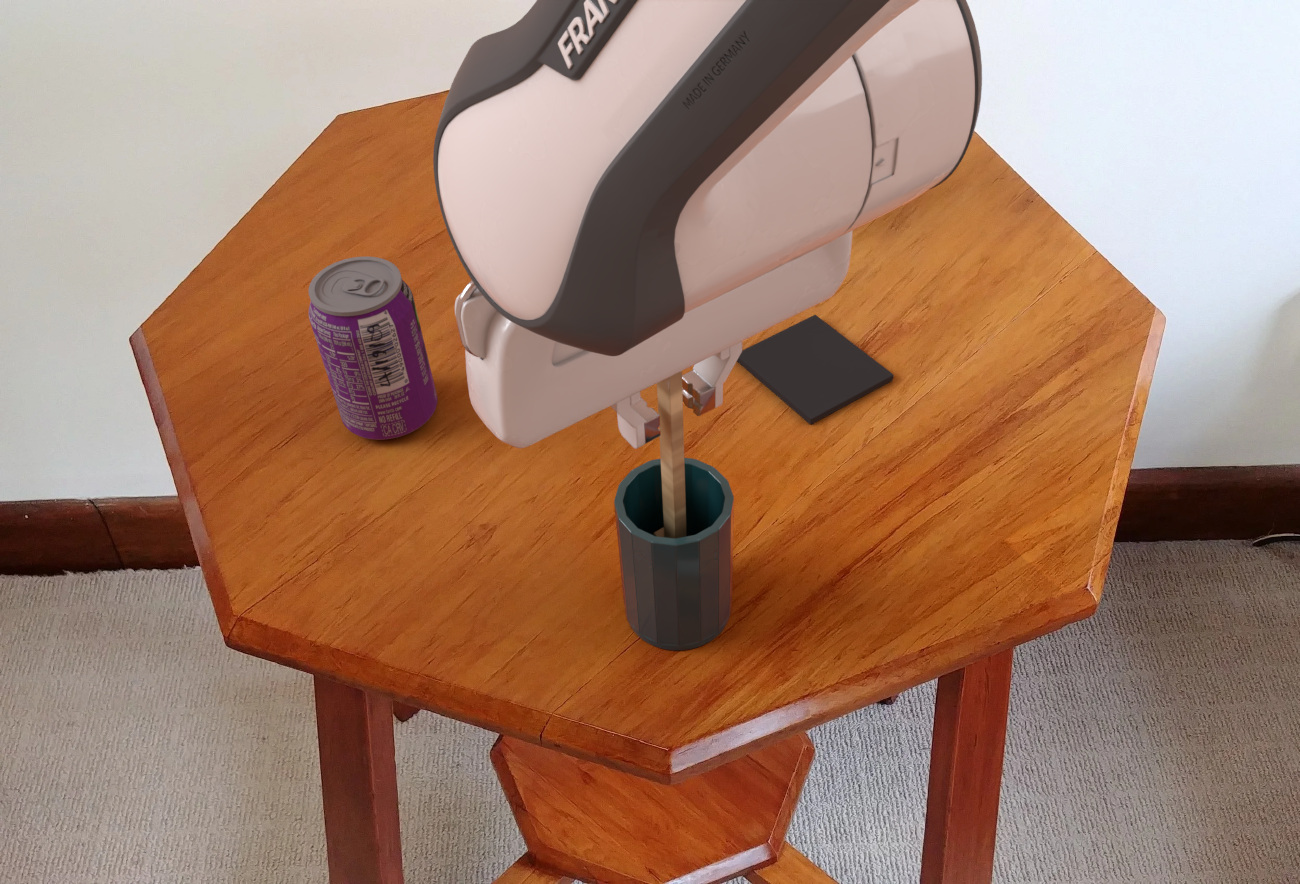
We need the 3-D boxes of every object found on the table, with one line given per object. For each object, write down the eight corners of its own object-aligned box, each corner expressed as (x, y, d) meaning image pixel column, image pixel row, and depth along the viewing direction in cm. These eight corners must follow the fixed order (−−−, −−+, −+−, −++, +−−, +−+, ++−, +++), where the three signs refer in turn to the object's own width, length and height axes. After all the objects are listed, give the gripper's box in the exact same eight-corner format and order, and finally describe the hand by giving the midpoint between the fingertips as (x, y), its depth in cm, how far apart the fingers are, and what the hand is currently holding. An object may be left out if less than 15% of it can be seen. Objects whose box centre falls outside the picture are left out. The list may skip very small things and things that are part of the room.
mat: (893, 380, 84) (894, 374, 83) (810, 425, 81) (811, 419, 80) (814, 320, 89) (815, 314, 89) (734, 359, 86) (734, 353, 86)
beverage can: (453, 388, 85) (424, 258, 77) (417, 453, 80) (382, 323, 72) (367, 375, 87) (329, 246, 78) (326, 439, 82) (282, 309, 73)
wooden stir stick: (700, 615, 69) (695, 369, 54) (687, 622, 68) (680, 376, 54) (668, 579, 71) (656, 333, 56) (656, 586, 70) (641, 340, 56)
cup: (752, 616, 69) (757, 508, 62) (664, 669, 67) (658, 563, 60) (690, 549, 73) (687, 440, 66) (605, 597, 71) (592, 489, 63)
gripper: (485, 319, 43) (528, 550, 53) (885, 145, 51) (857, 375, 60) (413, 243, 47) (466, 471, 56) (795, 92, 54) (783, 316, 64)
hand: (671, 420), depth 58 cm, fingers open, 3 cm apart
